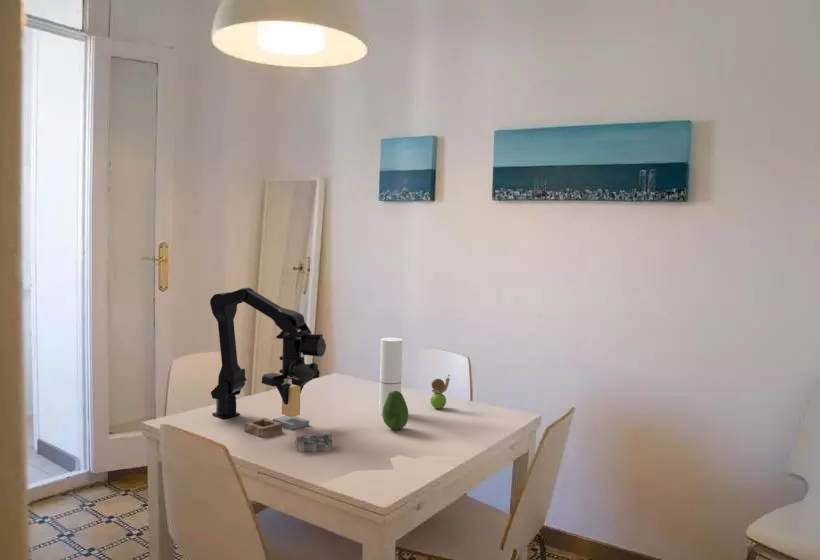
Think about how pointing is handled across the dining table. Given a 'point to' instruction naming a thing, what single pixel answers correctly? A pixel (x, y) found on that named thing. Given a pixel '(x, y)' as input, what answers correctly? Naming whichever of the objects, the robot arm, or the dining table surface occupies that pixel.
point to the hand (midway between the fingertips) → (290, 403)
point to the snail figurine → (439, 393)
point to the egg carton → (314, 442)
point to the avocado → (395, 411)
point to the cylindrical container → (390, 368)
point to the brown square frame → (263, 427)
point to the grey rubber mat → (292, 422)
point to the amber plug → (292, 402)
